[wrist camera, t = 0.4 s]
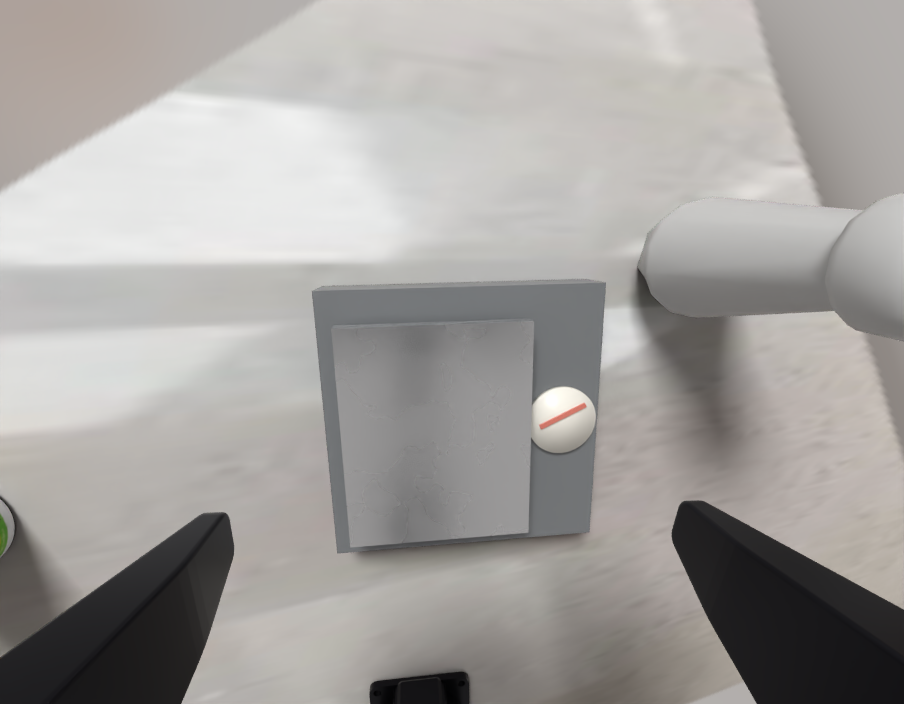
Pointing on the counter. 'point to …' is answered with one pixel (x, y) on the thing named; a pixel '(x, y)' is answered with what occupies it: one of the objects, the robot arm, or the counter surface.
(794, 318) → the counter surface
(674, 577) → the counter surface
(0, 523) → the supplement bottle
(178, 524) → the counter surface
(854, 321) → the salt shaker
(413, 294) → the scale
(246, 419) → the counter surface
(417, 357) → the scale pan
